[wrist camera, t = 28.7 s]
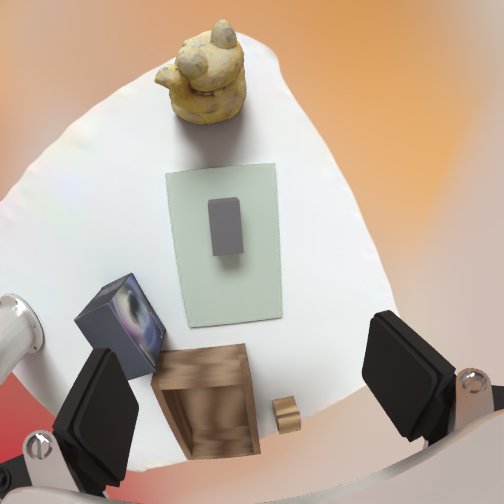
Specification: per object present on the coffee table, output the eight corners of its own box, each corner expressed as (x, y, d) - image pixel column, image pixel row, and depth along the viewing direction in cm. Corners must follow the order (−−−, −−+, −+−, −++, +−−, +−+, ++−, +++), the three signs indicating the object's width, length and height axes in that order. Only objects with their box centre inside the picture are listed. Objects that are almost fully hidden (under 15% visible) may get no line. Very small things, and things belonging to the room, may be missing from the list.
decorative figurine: (210, 58, 29) (209, -3, 15) (259, 90, 31) (287, 40, 17) (165, 111, 31) (133, 72, 16) (215, 144, 33) (215, 121, 18)
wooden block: (272, 400, 46) (278, 422, 40) (293, 395, 46) (301, 417, 41) (273, 412, 47) (279, 434, 41) (293, 408, 47) (300, 429, 42)
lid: (189, 322, 40) (185, 346, 34) (167, 173, 34) (156, 173, 27) (280, 312, 41) (290, 334, 35) (272, 163, 35) (284, 161, 29)
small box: (169, 329, 39) (158, 373, 29) (136, 342, 39) (119, 385, 29) (133, 270, 36) (108, 302, 26) (100, 287, 36) (71, 321, 26)
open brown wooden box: (188, 430, 46) (187, 459, 38) (158, 351, 40) (150, 383, 32) (255, 424, 48) (260, 453, 40) (244, 343, 41) (250, 376, 34)
